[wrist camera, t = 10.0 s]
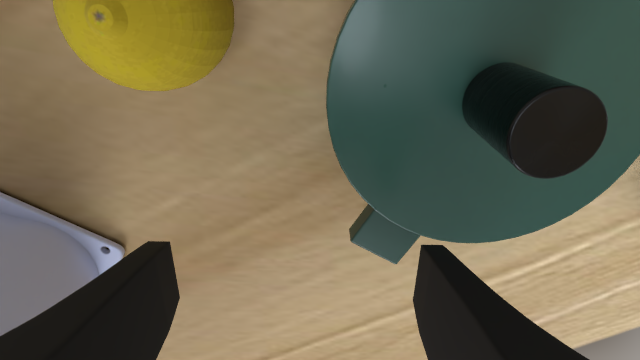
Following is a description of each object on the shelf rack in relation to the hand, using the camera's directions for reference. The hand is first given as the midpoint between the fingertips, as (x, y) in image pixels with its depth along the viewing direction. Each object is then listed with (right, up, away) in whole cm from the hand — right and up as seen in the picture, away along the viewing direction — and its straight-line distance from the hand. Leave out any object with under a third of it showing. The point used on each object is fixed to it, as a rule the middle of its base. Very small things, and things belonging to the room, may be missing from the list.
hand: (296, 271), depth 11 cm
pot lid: (+6, +6, +2) cm, 9 cm away
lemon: (-5, +11, +7) cm, 14 cm away
